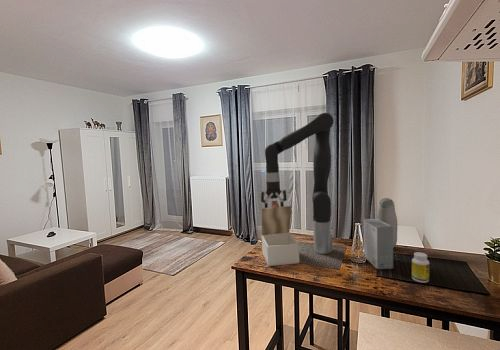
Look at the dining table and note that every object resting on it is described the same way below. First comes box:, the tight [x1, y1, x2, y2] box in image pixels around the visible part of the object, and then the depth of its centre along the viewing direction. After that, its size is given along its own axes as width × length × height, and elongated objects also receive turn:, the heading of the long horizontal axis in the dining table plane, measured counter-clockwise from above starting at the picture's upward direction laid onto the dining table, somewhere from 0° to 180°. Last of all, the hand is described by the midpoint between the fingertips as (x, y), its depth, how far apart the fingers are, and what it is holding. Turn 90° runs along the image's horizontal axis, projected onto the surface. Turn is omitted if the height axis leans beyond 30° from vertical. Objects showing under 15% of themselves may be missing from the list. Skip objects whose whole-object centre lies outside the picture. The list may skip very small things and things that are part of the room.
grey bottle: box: [376, 197, 398, 249], centre depth 143 cm, size 10×10×28 cm
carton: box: [261, 232, 300, 267], centre depth 139 cm, size 16×18×10 cm
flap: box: [261, 200, 292, 236], centre depth 146 cm, size 16×18×6 cm
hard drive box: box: [363, 218, 394, 270], centre depth 127 cm, size 16×8×20 cm, turn 179°
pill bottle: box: [411, 251, 430, 284], centre depth 109 cm, size 6×6×11 cm
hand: (274, 208), depth 147 cm, fingers open, 8 cm apart
